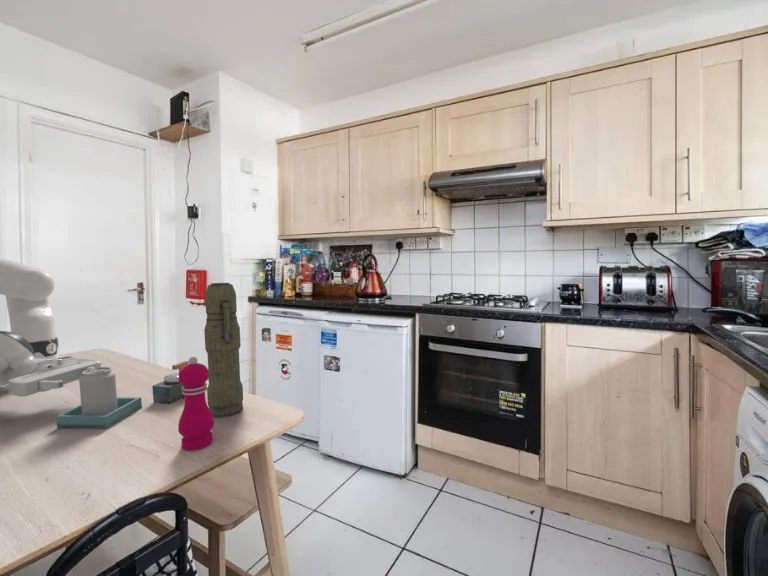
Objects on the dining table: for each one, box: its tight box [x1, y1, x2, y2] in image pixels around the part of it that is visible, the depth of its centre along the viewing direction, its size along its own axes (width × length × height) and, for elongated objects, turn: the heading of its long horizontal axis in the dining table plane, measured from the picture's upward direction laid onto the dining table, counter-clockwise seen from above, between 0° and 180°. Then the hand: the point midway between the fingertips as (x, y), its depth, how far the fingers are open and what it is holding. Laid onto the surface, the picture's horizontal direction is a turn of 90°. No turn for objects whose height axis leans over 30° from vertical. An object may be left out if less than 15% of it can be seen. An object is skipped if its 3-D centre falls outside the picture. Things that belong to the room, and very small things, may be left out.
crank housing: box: [151, 360, 189, 405], centre depth 112 cm, size 7×12×10 cm, turn 165°
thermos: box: [203, 282, 244, 418], centre depth 100 cm, size 9×12×35 cm
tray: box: [56, 396, 143, 430], centre depth 98 cm, size 13×13×3 cm
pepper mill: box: [177, 356, 215, 452], centre depth 83 cm, size 7×7×20 cm
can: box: [78, 366, 118, 415], centre depth 97 cm, size 8×8×12 cm
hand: (79, 378), depth 99 cm, fingers open, 8 cm apart
